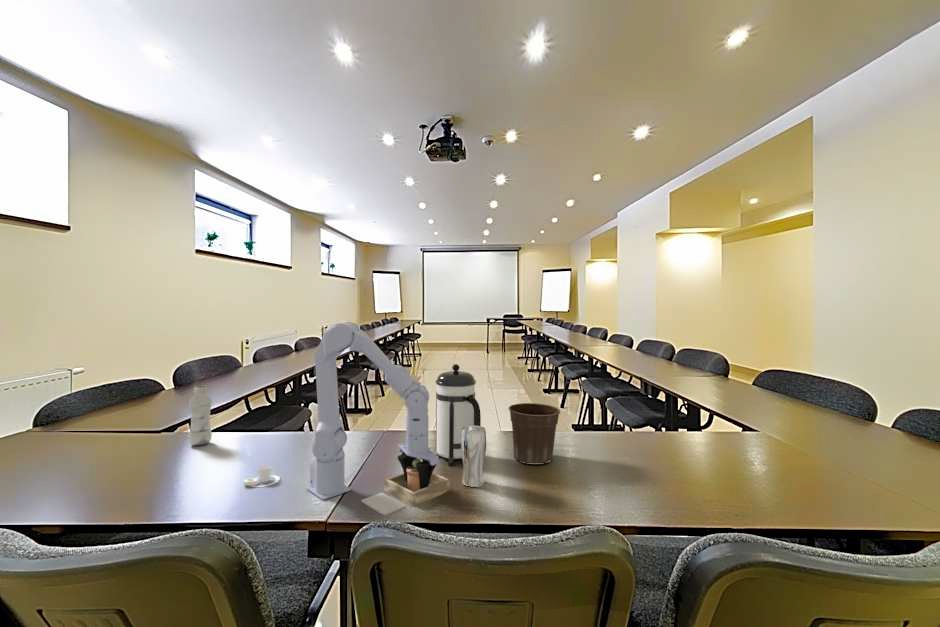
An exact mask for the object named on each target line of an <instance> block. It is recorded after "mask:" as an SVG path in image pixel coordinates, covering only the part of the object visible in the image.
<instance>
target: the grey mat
mask: <svg viewBox="0 0 940 627" xmlns="http://www.w3.org/2000/svg"><path fill="white" fill-rule="evenodd" d="M360 502H361V503H362V504H364V505H366V506H367V507H369V508H371V509H372V510H374V511H376V512H377V513H378V514H381V515H382V516H384V517H386V516H388V515H390V514H393V513H395V512H398V511H400V510H402V509H404V508H406V505H405V504H403V503H401V502H400V501H398V500H396V499H395V498H392V497H391V496H389V495H387V494H385V493H384V492H378V493H377V494H374V495H371V496H368V497H366V498H363V499H361V501H360Z"/></svg>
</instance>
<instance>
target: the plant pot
mask: <svg viewBox="0 0 940 627" xmlns="http://www.w3.org/2000/svg"><path fill="white" fill-rule="evenodd" d="M508 411H509V413H510V414H509V416H510V421H511V428H512V429H511V431H512V444H513V445H512V446H513V448H512V449H513V459H514V460H516V459H517V460H516V461H521V462H525V463H544V462H548V461H550V460H552V461H553V456H554V447H555V438H556V431H557V425H558V422H559V415H560V414H561V410H560V409H559V408H558V407H556V406H553V405H549V404H545V403H544V404H543V403H533V402H528V403H527V402H523V403H515V404H511V405H510V406H508ZM521 462H520V463H521ZM544 464H545V463H544Z"/></svg>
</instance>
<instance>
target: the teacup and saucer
mask: <svg viewBox="0 0 940 627" xmlns="http://www.w3.org/2000/svg"><path fill="white" fill-rule="evenodd" d="M272 470H273V472H272ZM271 472H272V474H271ZM275 472H276V468H275V467H274V466H272V467H271V466H270V465H262V466H259V467H258V468H257V474H258V476H256V477H254V478H253V477H248V478H245V479H244V480H243V485H244V486H247V487H252V488H264V487H269V486H272V485H275V484H277V483H279V482H280V481H281V477H280V476H278V475H276V473H275ZM273 477H274V481H273V482H271V483H268V484H265V483H267V482H269V480H270V479H271V478H273ZM257 478H259V479H257ZM259 483H262V484H263V483H264V484H263V485H258V484H259Z"/></svg>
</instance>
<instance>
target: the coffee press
mask: <svg viewBox="0 0 940 627" xmlns="http://www.w3.org/2000/svg"><path fill="white" fill-rule="evenodd" d="M460 369H461V368H460V365H459V364H457V363H454V364H453V365H452V370H450V371H445V372H442V373H440V374H439V375H438V376H437V379H435V384H436V391H435V392H436V393H435V397H436V400H435V404H436V405H435V449H434V451H432V452H433V453H434V452H435V451H436V453H437V454H436V455H437V456H439V457H443V458H445V459H448V466H449V465H453V466H454V464H455V463H454V462H455V460H457V459H459V460H460V459H462V454H461V433H462V428H463V427H465V426H471V425H476V426H482V425H481V421H482V420H481V418H482V417H481V409H480V404H479V402H478V400H477V399H476V391H475V390H476V389H475V385H476V383H477V381H476V379H475V377H474V375H473V374H472V373H470V372H468V371H460ZM434 454H435V453H434Z"/></svg>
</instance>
